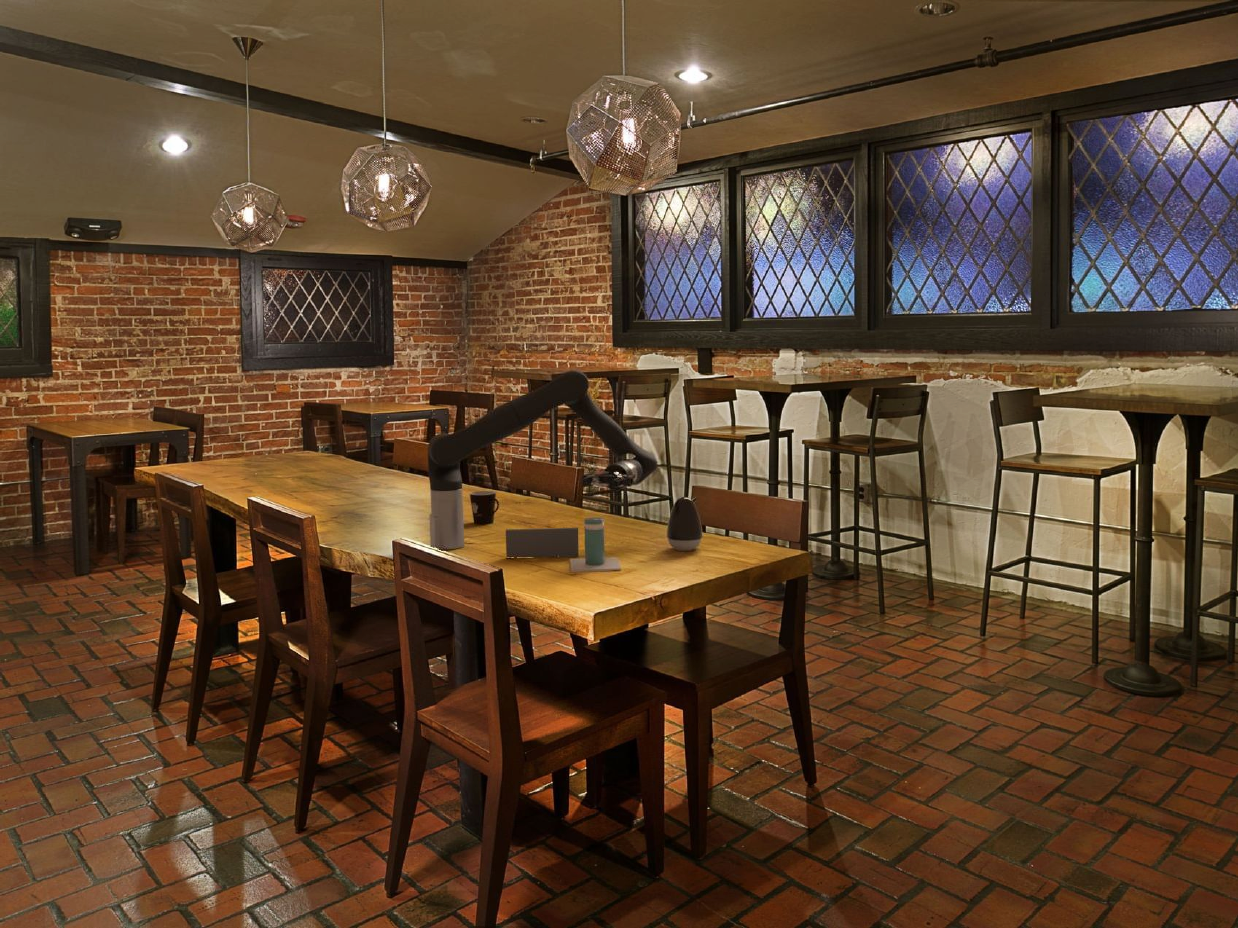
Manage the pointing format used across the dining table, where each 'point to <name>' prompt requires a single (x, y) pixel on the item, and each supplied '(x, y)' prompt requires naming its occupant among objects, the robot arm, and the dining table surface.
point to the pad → (580, 565)
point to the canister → (594, 541)
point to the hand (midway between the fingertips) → (599, 483)
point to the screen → (542, 542)
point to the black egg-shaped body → (684, 525)
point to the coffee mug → (483, 506)
